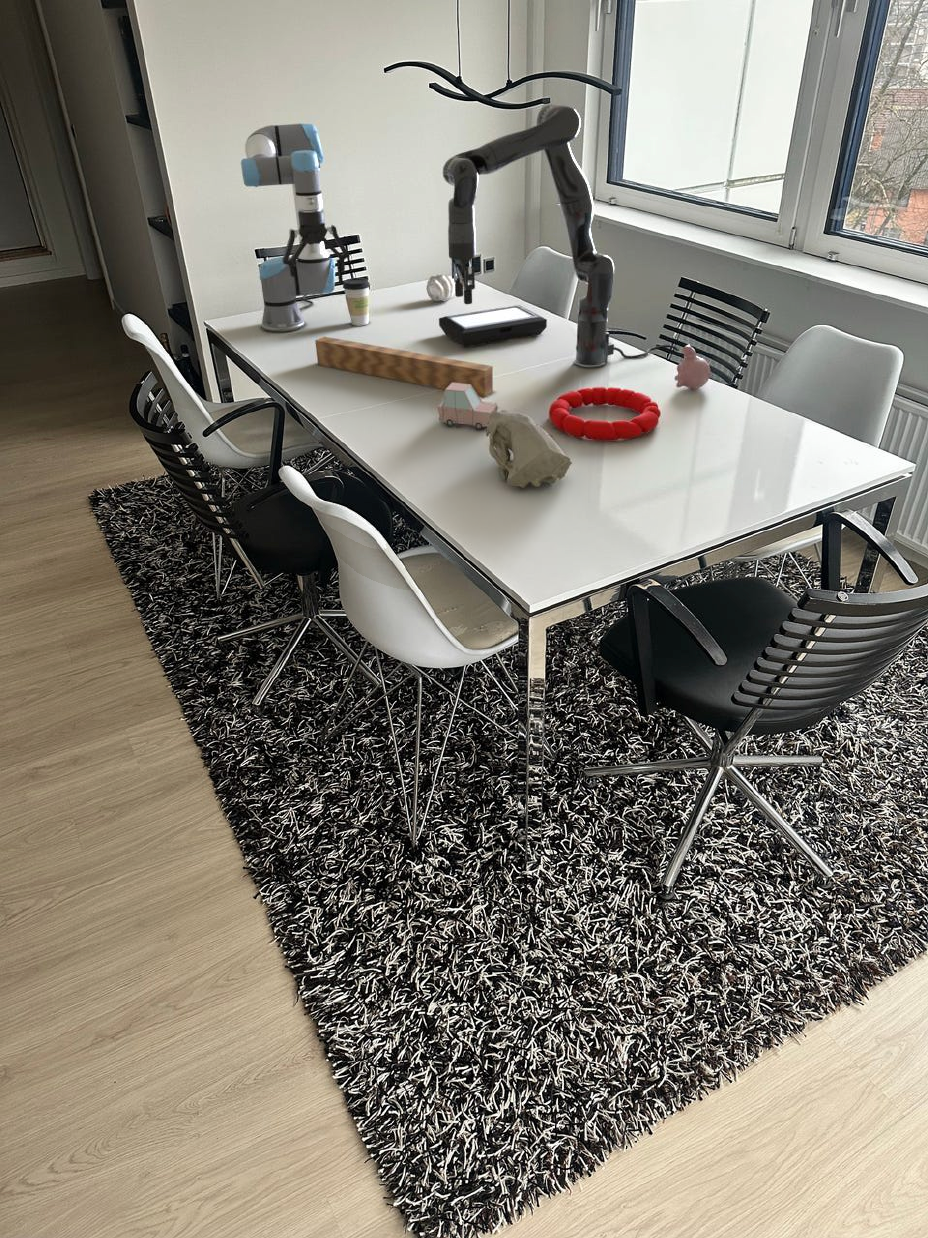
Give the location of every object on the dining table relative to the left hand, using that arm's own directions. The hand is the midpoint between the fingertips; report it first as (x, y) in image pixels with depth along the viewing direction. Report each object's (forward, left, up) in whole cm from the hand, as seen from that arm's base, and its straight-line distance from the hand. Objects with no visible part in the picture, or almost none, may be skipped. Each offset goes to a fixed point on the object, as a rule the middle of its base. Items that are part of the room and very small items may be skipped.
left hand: (319, 284), depth 274 cm
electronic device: (-19, +58, -26) cm, 66 cm away
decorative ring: (+66, +72, -26) cm, 101 cm away
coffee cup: (-46, +14, -26) cm, 54 cm away
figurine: (+48, +104, -26) cm, 117 cm away
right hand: (+32, +39, +1) cm, 51 cm away
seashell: (-67, +48, -26) cm, 86 cm away
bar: (+16, +22, -26) cm, 37 cm away
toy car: (+58, +35, -26) cm, 72 cm away
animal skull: (+91, +43, -26) cm, 103 cm away
